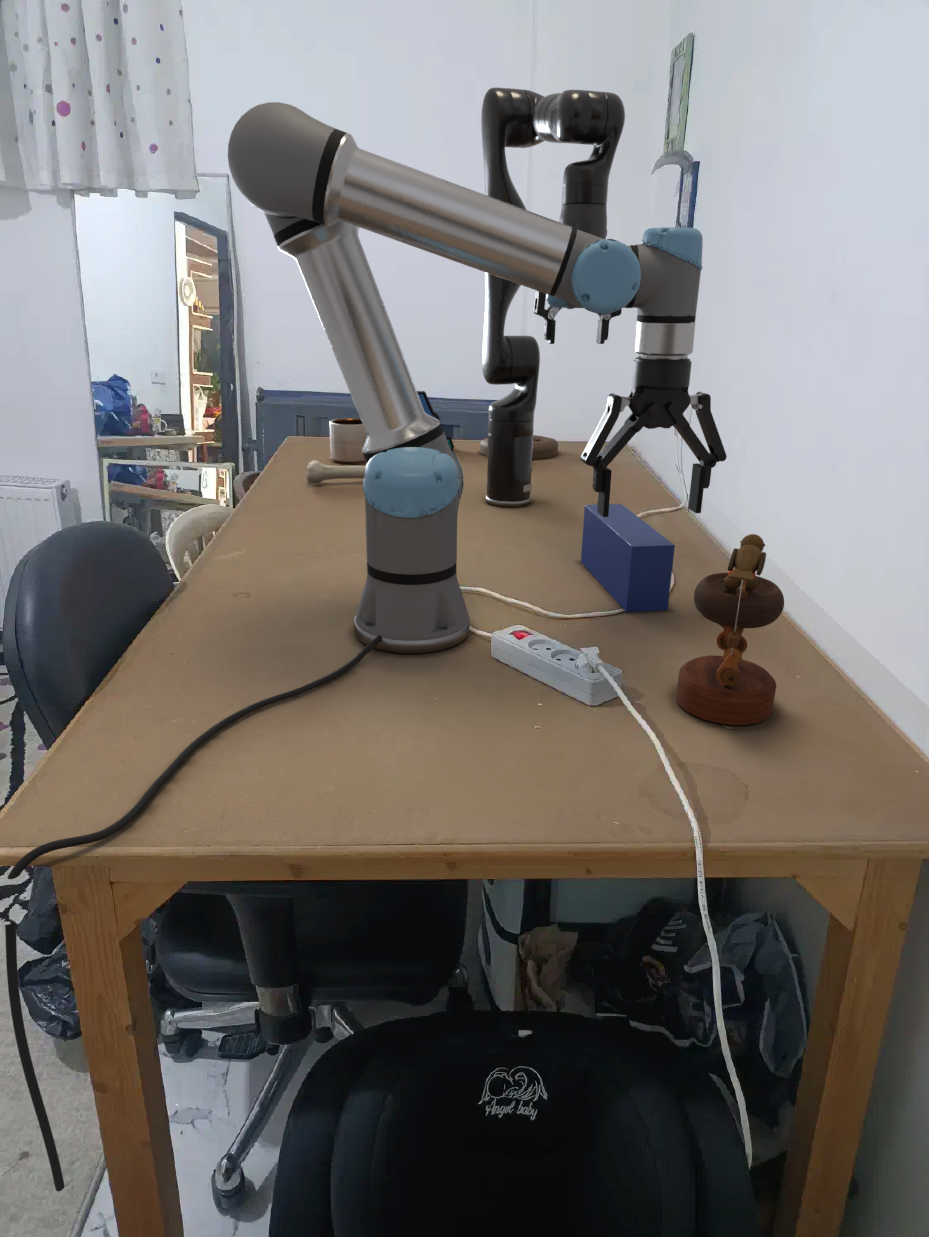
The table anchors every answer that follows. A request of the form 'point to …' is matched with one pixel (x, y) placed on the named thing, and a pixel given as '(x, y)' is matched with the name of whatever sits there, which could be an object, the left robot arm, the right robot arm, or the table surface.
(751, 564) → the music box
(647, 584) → the box
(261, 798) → the table surface
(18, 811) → the table surface
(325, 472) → the dog toy
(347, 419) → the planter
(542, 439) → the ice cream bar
